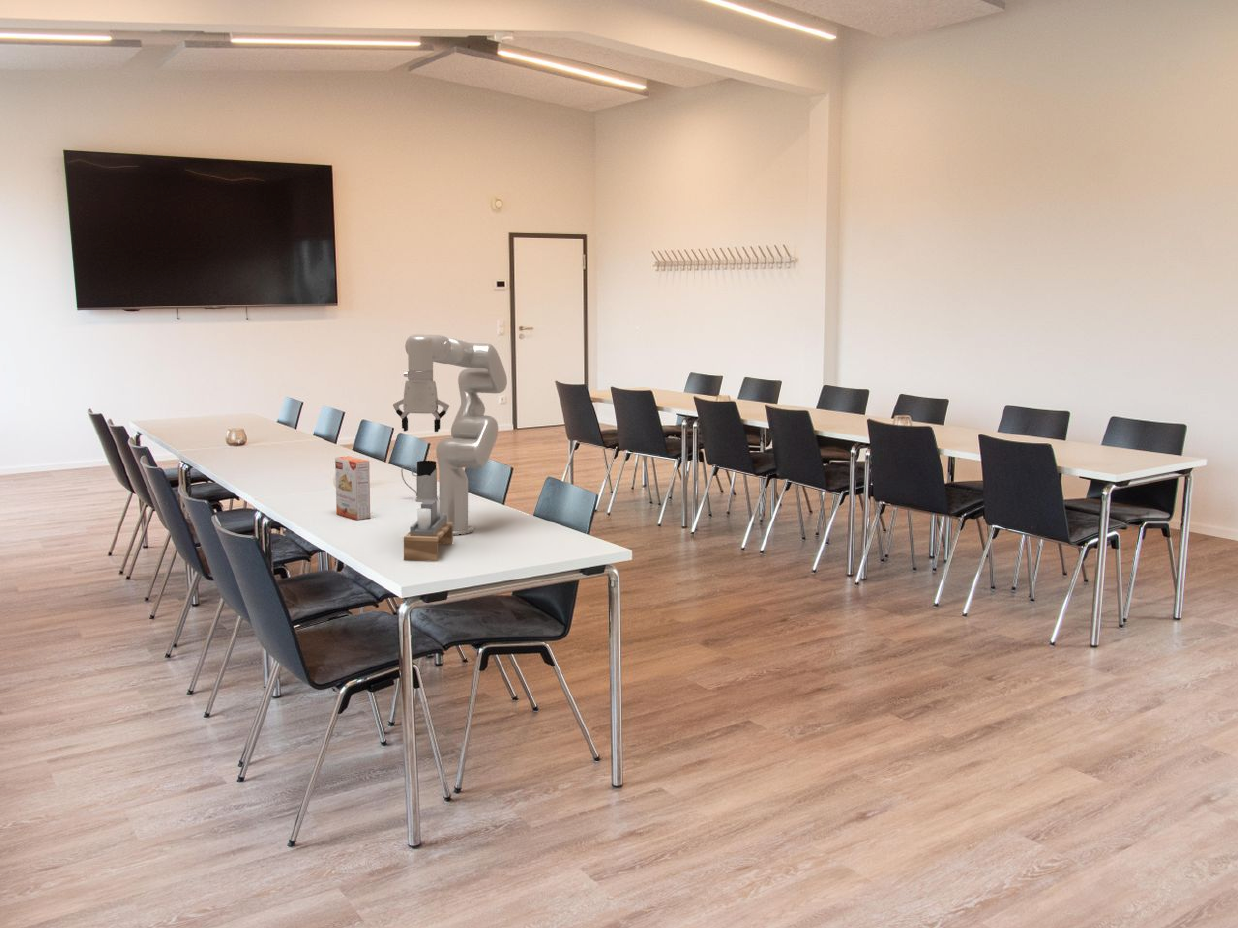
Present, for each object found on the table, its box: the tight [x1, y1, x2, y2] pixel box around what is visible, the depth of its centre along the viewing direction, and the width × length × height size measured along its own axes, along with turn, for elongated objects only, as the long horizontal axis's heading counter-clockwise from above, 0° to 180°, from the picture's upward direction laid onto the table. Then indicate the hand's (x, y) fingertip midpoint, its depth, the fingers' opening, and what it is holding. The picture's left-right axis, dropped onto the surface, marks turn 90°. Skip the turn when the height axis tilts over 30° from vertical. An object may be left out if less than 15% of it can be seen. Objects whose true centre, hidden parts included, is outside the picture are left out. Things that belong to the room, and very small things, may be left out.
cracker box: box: [334, 456, 371, 521], centre depth 377 cm, size 14×6×21 cm, turn 45°
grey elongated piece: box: [409, 499, 447, 536], centre depth 326 cm, size 20×7×8 cm, turn 178°
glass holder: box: [400, 460, 439, 503], centre depth 412 cm, size 9×14×15 cm, turn 89°
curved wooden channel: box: [403, 522, 454, 562], centre depth 327 cm, size 24×10×7 cm, turn 178°
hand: (421, 431), depth 330 cm, fingers open, 9 cm apart
